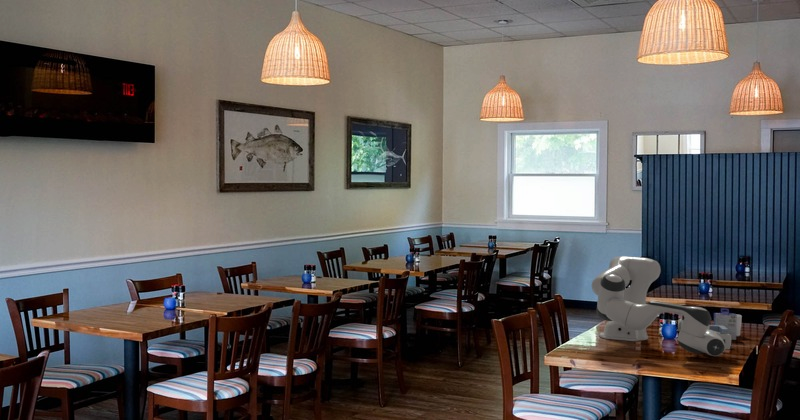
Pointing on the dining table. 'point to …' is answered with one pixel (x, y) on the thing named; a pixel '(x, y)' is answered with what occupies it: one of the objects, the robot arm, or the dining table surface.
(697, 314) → the robot arm
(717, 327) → the slotted box
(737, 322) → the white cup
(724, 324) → the ink cartridge box
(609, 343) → the dining table surface
